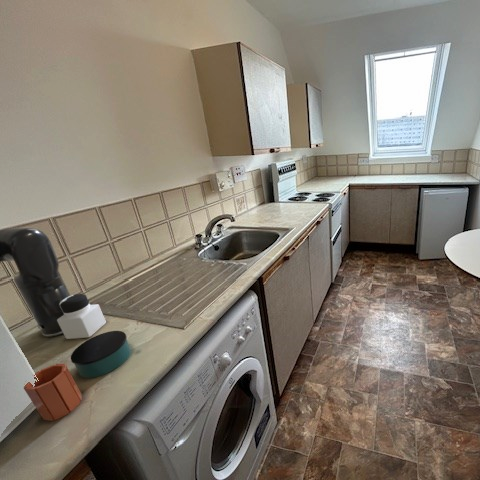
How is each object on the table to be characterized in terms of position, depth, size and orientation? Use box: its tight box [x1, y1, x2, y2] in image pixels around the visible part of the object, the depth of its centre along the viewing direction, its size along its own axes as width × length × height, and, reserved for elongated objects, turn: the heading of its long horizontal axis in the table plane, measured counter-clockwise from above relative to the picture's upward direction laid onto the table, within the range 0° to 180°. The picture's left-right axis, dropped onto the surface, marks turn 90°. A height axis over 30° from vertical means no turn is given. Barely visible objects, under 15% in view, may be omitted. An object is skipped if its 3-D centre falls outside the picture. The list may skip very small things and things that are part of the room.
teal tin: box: [70, 330, 132, 379], centre depth 69 cm, size 11×11×5 cm
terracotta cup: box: [23, 363, 83, 422], centre depth 56 cm, size 6×6×9 cm
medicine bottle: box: [57, 293, 107, 340], centre depth 80 cm, size 7×7×12 cm
